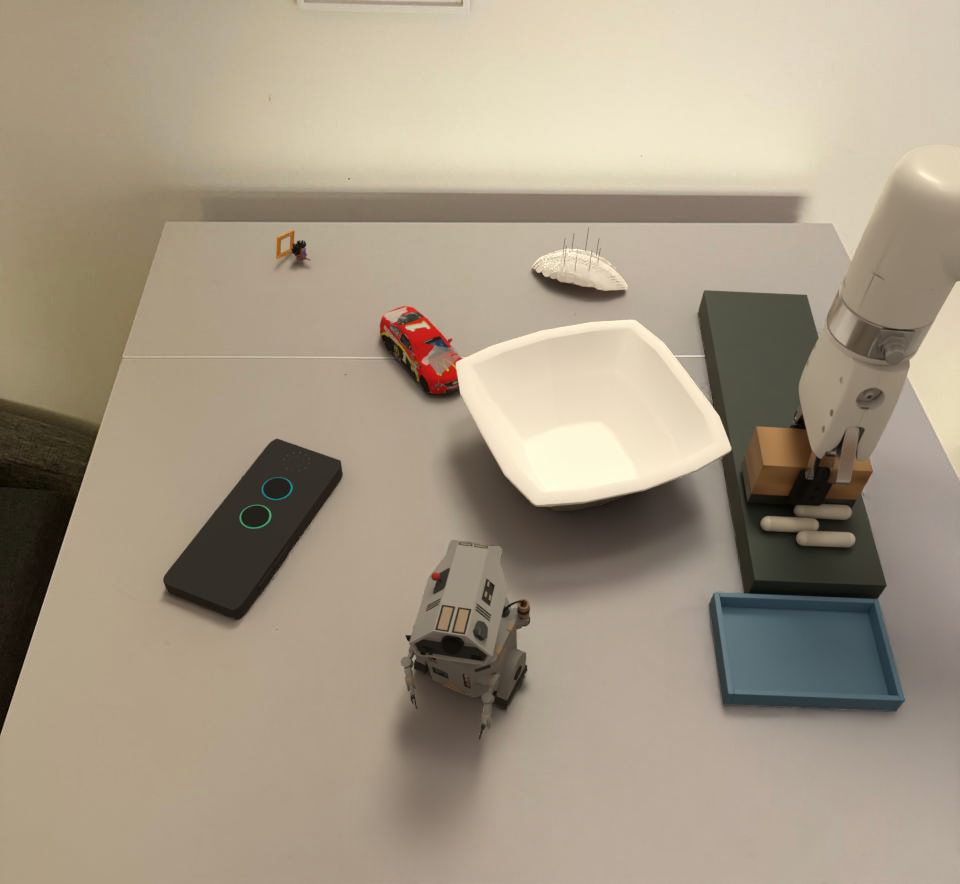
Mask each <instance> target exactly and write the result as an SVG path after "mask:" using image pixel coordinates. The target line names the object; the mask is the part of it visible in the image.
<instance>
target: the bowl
mask: <svg viewBox="0 0 960 884" xmlns="http://www.w3.org/2000/svg"><path fill="white" fill-rule="evenodd" d="M456 370H457V376H458V382H459V388H460V389H459V394H460V397H461V399H462V400H463V402H464V405H465V407H466V408H467V410H468V412H469V414H470V416H471V418H472V420H473V421H474V424H475V425H476V427H477V429H478V431H479V433H480V435H481V437H482V438H483V441H484V442H485V444H486V445H487V448H488V449H489V451H490V453H491V454H492V455H493V458H494V459H495V461H496V464H497V465H498V467H499V468H500V470H501V472H502V473H503V475H504V477H505V478H506V479H507V480H509V482H510V483H511V484H512V485H513V486H514V487H515V488H516V489H517V490H518V491H519V492H520V493H521V495H523V496H524V498H526V500H528V501H529V503H530V504H531V505H533V506H534V507H536V508H537V507H538V508H544V507H545V508H546V507H547V508H550V509H551V510H552V511H554V512H568V511H569V512H571V511H581V510H584V509H590V508H593V507H599V506H604V505H606V504H609V503H612V502H614V501H617V500H619V499H622V498H625V497H628V496H630V495H632V494H636V493H641V492H645V491H648V490H650V489H654V488H656V487H658V486H661V485H664V484H667V483H669V482H672V481H675V480H677V479H680V478H682V477H685V476H688V475H691V474H693V473H696V472H698V471H700V470H702V469H703V468H705V467H707V466H708V465H710V464H712V463H715V462H716V461H717V460H719V459H722V457H723V456H725V455H726V454H728V453H729V452H730V451H731V445H730V443H729V440H728V437H727V435H726V432H725V430H724V427H723V424H722V422H721V419H720V416H719V415H718V414H717V412H716V411H715V409H714V406H713V405H712V404H711V403H710V401H709V400H708V399H707V397H706V396H705V394H704V393H703V392H702V390H701V389H700V388H699V386H698V385H697V384H696V382H695V381H694V379H693V378H692V376H691V375H690V374H689V373H688V372H687V370H686V369H685V368H684V367H683V365H682V364H681V363H680V361H679V360H678V359H677V358H676V356H675V354H673V352H672V351H671V350H670V348H669V347H668V346H667V345H666V343H665V342H664V341H663V340H661V339H660V338H659V337H657V336H656V335H655V334H654V333H652V332H651V331H650V330H649V329H648V328H646V327H645V326H644V325H642V324H641V322H639V321H638V320H636V319H621V320H619V319H618V320H605V321H604V320H603V321H602V320H601V321H590V322H584V323H578V324H571V325H566V326H561V327H553V328H548V329H541V330H539V331H535V332H532V333H528V334H525V335H522V336H519V337H515V338H512V339H508V340H506V341H502V342H499V343H495V344H492V345H490V346H488V347H486V348H483V349H481V350H479V351H477V352H474V353H472V354H471V355H467V356H466V357H464V358H462V359H461V360H459V361H457V362H456Z"/></svg>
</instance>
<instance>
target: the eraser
mask: <svg viewBox="0 0 960 884" xmlns="http://www.w3.org/2000/svg"><path fill="white" fill-rule="evenodd" d="M811 453H812V449H811V446H810V442H809V438H808V434H807V430H806V429H793V428H776V427H758V426H757V427H756V429H755V431H754V434H753V436H752V439H751V441H750V443H749V446H748V448H747V451H746V453H745V456H744V458H743V461H742V463H741V466H742V472H743V478H744V484H745V490H746V496H747V502H750V503H768V504H785V505H792V504H789V503H788V500H787V497H788V495H789V493H790V491H791V489H792V487H793V485H794V483H795V481H796V479H797V477H798V475H799V473H800V471H801V470H806V468H807V465H808V462H809V459H810V456H811ZM834 459H835V457H828V456H823V457H822V458H821V460H820V463H819V466H818V467H832V465H833V462H834ZM873 473H874V469H873V465H872V461H871V458H870V457H869V458H868V459H867V460H866V461H857V460H856V456H855V460H854V465H853V471H852V476H851V481H850V484H849V485H832V487H831V488H830V490H829V492H828V494H827V496H826V497H825V499H824V501H823V503H822V504H836V505H847V506H849V507H850V508H852V507H853V506H854V504H855V502H856V500H857V499H858V497H859V495H860V493H862V491H863V490H864V488H865V487H866V485H867V484H868V482H869V480H870V478H871V476H872V475H873Z"/></svg>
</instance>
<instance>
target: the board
mask: <svg viewBox="0 0 960 884" xmlns="http://www.w3.org/2000/svg"><path fill="white" fill-rule="evenodd" d="M698 310H699V314H698V319H699V318H700V320H699V325H700V324H701V326H700V331H701V330H702V332H701V338H702V337H703V338H702V343H703V342H704V344H703V349H704V348H705V350H704V356H705V362H706V367H707V373H708V379H709V386H710V392H711V398H712V404H713V405H712V406H713V408H714V409H715V411H716V412H717V414H718V415H719V416H720V419H721V422H722V424H723V427H724V430H725V432H726V435H727V437H728V440H729V443H730V445H731V451H730V452H729V453H728V454H726V455H725V456H723V457H721V459H722V465H723V471H724V476H725V477H724V478H725V482H726V489H727V494H728V501H729V506H730V513H731V518H732V525H733V531H734V536H735V542H736V548H737V555H738V561H739V567H740V572H741V578H742V586H743V591H744V594H767V595H792V596H816V597H841V598H865V599H878V600H879V598H880V596H881V595H882V594H883V592H884V590H886V587H887V586H888V585H887V581H886V578H885V574H884V570H883V567H882V563H881V559H880V556H879V552H878V548H877V545H876V541H875V537H874V533H873V529H872V526H871V522H870V518H869V515H868V512H867V509H866V505H865V501H864V497H863V495H862V492H861V493H860V495H859V497H858V499H857V500H856V502H855V504H854V506H853V507H852V508H851V510H852V515H851V516H850V518H848V519H846V520H835V519H816V520H817V521H818V523H819V528H818V530H817V531H829V532H849V533H852V534H853V535H854V536H855V543H854V545H852V546H851V547H847V548H846V547H821V546H802V545H799V544H798V543H797V541H796V536H797V534H798V533H796V532H776V531H765V530H763V529H762V528H761V525H760V522H761V520H762V519H763V518H764V517H766V516H780V517H797V516H796V515H795V514H794V508H795V506H796V505H785V504H768V503H750V502H747V496H746V490H745V484H744V478H743V472H742V466H741V463H742V461H743V458H744V456H745V453H746V451H747V448H748V446H749V443H750V441H751V439H752V436H753V434H754V431H755V429H756V427H757V426H758V427H776V428H790V426H791V425H796V424H794V423H793V415H794V412H795V411H796V409H797V408H798V406H799V405H800V397H799V382H800V379H801V376H802V373H803V370H804V368H805V365H806V363H807V361H808V358H809V356H810V354H811V352H812V350H813V348H814V346H815V344H816V342H817V340H818V338H819V333H818V330H817V326H816V323H815V319H814V315H813V311H812V309H811V304H810V300H809V298H808V295H807V294H800V293H799V294H798V293H797V294H795V293H777V292H776V293H775V292H756V291H755V292H754V291H753V292H752V291H751V292H750V291H730V290H711V289H708V290H706V289H705V290H703V293H702V296H701V299H700V303H699V307H698ZM814 519H815V518H814Z"/></svg>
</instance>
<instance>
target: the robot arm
mask: <svg viewBox="0 0 960 884" xmlns="http://www.w3.org/2000/svg"><path fill="white" fill-rule="evenodd" d="M958 282H960V146H957V145H953V144H952V145H951V144H946V143H945V144H944V143H934V144H933V143H932V144H925V145H921V146H918V147H916V148H912V149H911V150H909V151H907V152H906V153H905V154H903V155H902V156H901V157H900V158H899V159H898V160H897V161H896V162H895V164H894V166H893V167H892V168H891V170H890V171H889V175H888V176H887V178H886V180H885V182H884V184H883V187H882V190H881V192H880V194H879V195H878V199H877V201H876V203H875V205H874V208H873V210H872V212H871V215H870V217H869V219H868V222H867V224H866V226H865V228H864V230H863V233H862V235H861V237H860V240H859V243H858V244H857V246H856V248H855V251H854V253H853V256H852V259H851V260H850V263H849V265H848V267H847V270H846V272H845V274H844V276H843V279H842V281H841V283H840V285H839V286H838V287H839V288H838V289H837V292H836V294H835V296H834V299H833V300H832V303H831V305H830V308H829V310H828V312H827V315H826V317H825V319H824V323H823V328H822V330H821V333H820V335H818V337H819V338H818V340H817V342H816V344H815V346H814V348H813V350H812V352H811V354H810V356H809V358H808V361H807V363H806V365H805V368H804V370H803V373H802V376H801V379H800V382H799V397H800V405H799V406H798V408H797V409H796V411H795V412H794V415H793V423H794V424H796V425H791V426H790V428H793V429H806V430H807V434H808V438H809V442H810V446H811V449H812V453H811V456H810V459H809V462H808V465H807V468H806V470H801V471H800V473H799V475H798V477H797V479H796V481H795V483H794V485H793V487H792V489H791V491H790V493H789V495H788V497H787V500H788V503H789V504H792V505H808V506H820V505H821V504H822V503H823V501H824V499H825V497H826V496H827V494H828V492H829V490H830V488H831V487H832V485H849V484H850V481H851V476H852V471H853V465H854V460H855V456H856V460H857V461H866V460H867V459H868V458H870V457H871V456H872V454H873V452H874V450H875V448H876V447H877V445H878V443H879V441H880V439H881V437H882V436H883V433H884V431H885V429H886V427H887V425H888V423H889V421H890V419H891V417H892V415H893V413H894V410H895V408H896V406H897V403H898V402H899V399H900V397H901V394H902V391H903V389H904V385H905V384H906V380H907V377H908V374H909V370H910V368H911V365H910V364H911V363H910V360H911V359H913V358H914V357H915V355H916V354H917V353H918V351H919V349H920V348H921V346H922V344H923V342H924V340H925V339H926V337H927V335H928V333H929V331H930V330H931V328H932V326H933V324H934V322H935V321H936V318H937V316H938V315H939V313H940V311H941V310H942V308H943V307H944V304H945V303H946V301H947V299H948V297H949V296H950V294H951V292H952V291H953V289H954V287H955V285H956V284H957V283H958ZM823 456H828V457H835V459H834V462H833V465H832V467H818V466H819V463H820V460H821V458H822V457H823Z"/></svg>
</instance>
